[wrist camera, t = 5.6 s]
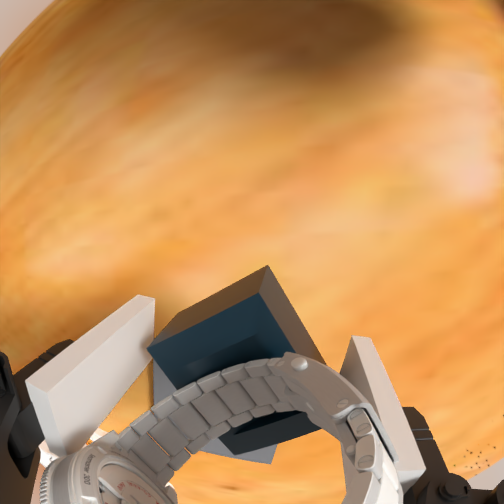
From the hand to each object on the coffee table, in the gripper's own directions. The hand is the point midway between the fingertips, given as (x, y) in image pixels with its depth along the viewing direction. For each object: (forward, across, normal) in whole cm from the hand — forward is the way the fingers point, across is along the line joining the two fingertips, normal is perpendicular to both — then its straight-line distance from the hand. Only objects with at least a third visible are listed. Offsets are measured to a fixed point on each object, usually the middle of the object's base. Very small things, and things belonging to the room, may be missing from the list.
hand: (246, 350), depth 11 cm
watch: (+1, 0, 0) cm, 1 cm away
